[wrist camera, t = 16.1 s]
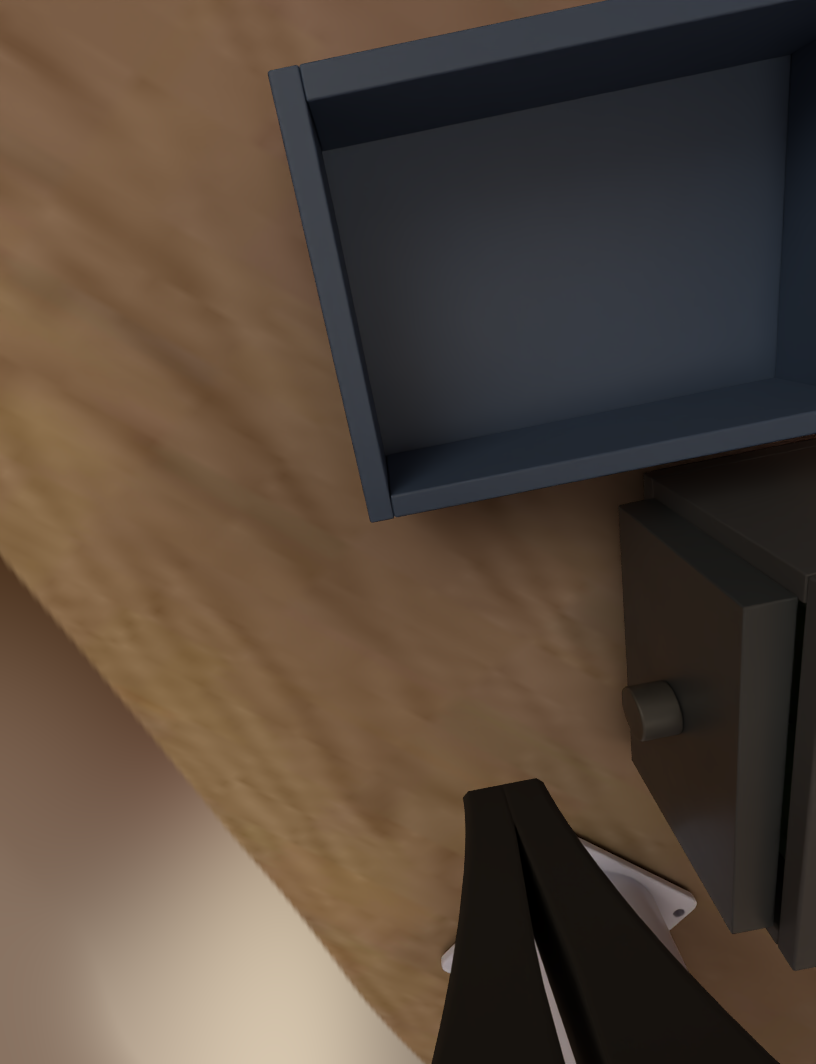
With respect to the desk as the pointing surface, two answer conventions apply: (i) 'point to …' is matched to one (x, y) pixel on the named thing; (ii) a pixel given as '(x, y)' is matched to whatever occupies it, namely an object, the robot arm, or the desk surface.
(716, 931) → the desk surface
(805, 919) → the cabinet
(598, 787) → the desk surface
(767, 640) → the drawer
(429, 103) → the box
